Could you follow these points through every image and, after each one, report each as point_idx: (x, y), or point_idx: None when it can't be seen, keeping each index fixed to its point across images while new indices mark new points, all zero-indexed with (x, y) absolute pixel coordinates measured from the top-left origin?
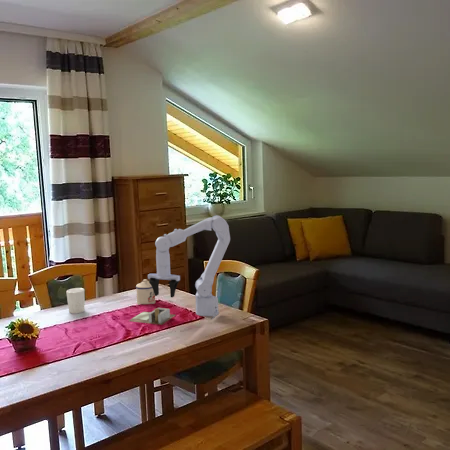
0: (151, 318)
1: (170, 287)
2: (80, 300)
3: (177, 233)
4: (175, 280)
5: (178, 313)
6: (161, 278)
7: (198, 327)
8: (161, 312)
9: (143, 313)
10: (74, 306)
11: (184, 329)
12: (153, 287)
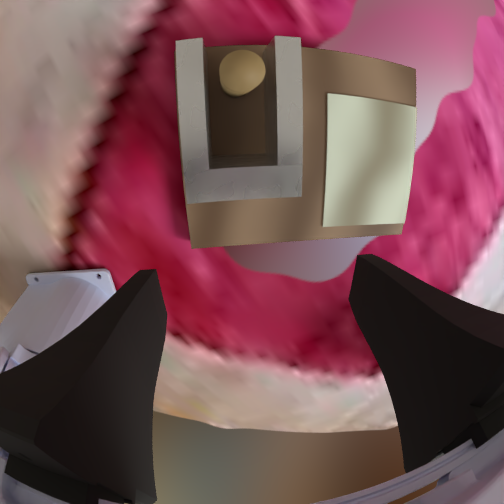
0: (268, 47)
1: (85, 353)
2: None
3: None
4: (12, 470)
5: (216, 293)
6: None
7: (8, 153)
8: (200, 91)
9: (393, 201)
10: None
11: (43, 91)
12: (442, 302)
